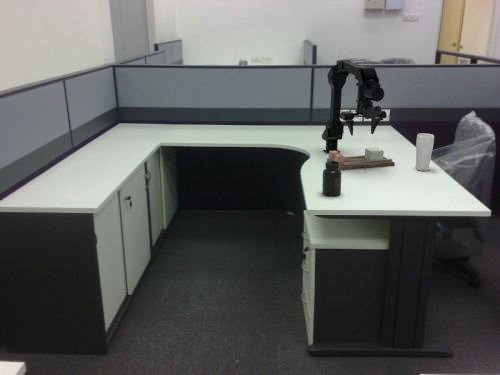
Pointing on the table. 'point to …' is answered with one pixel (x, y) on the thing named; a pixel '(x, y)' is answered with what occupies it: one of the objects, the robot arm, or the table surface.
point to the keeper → (373, 154)
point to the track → (357, 161)
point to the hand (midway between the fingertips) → (361, 134)
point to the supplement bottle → (331, 179)
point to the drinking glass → (424, 151)
